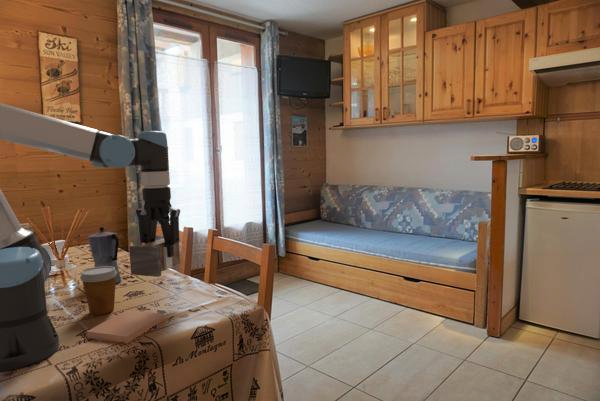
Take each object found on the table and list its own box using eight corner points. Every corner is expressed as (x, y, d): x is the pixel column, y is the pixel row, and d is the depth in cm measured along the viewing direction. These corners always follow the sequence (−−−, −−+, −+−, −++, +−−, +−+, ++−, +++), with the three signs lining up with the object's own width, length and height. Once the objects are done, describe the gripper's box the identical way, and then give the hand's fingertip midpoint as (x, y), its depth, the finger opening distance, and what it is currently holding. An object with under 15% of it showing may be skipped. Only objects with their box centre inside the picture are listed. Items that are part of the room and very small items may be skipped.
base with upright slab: (57, 268, 164) (54, 239, 162) (75, 269, 161) (72, 240, 160) (37, 275, 155) (34, 244, 154) (56, 276, 153) (53, 245, 151)
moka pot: (106, 276, 150) (102, 224, 147) (135, 281, 142) (131, 226, 140) (82, 284, 141) (77, 228, 139) (111, 290, 134) (106, 231, 132)
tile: (164, 321, 108) (127, 345, 94) (127, 317, 111) (87, 339, 98) (164, 313, 107) (127, 336, 94) (127, 309, 111) (86, 331, 98)
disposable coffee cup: (127, 305, 119) (124, 266, 118) (105, 318, 110) (101, 275, 109) (99, 304, 121) (95, 265, 120) (75, 316, 112) (71, 274, 111)
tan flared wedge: (158, 276, 107) (156, 247, 107) (131, 274, 110) (129, 246, 110) (187, 264, 120) (185, 237, 119) (161, 262, 123) (160, 236, 122)
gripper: (189, 185, 114) (194, 265, 117) (140, 185, 119) (146, 262, 122) (173, 187, 107) (179, 273, 109) (122, 187, 112) (128, 269, 115)
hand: (161, 267), depth 116 cm, fingers closed on tan flared wedge, 4 cm apart
